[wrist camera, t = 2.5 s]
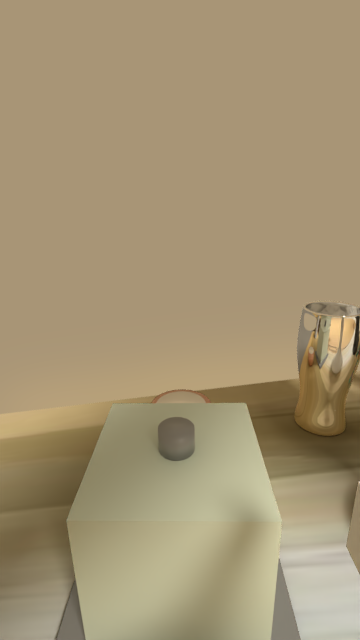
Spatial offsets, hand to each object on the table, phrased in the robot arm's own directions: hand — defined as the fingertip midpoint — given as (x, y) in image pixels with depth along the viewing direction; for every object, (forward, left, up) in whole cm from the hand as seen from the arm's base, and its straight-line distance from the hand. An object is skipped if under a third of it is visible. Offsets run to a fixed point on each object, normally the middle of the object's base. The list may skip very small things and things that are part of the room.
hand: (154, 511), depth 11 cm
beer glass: (+4, -33, -16) cm, 37 cm away
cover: (+6, -8, -15) cm, 18 cm away
